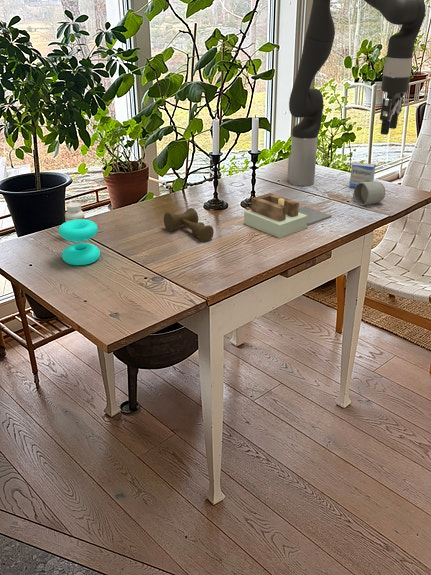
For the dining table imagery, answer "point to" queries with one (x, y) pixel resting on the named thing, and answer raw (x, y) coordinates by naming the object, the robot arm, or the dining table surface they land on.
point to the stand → (276, 222)
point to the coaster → (313, 215)
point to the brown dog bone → (189, 224)
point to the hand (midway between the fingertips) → (388, 131)
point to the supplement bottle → (74, 212)
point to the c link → (274, 207)
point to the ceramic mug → (369, 192)
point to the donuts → (79, 251)
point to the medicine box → (361, 173)
